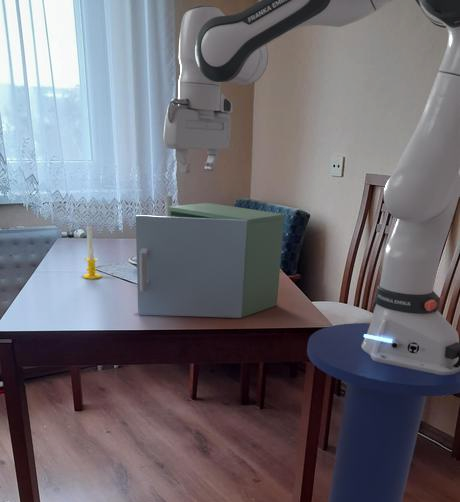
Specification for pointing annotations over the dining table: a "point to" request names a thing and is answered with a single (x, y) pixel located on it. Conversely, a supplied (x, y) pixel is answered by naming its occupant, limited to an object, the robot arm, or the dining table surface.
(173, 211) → the cupboard
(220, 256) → the cupboard door
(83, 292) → the dining table surface
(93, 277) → the candle
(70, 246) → the dining table surface
